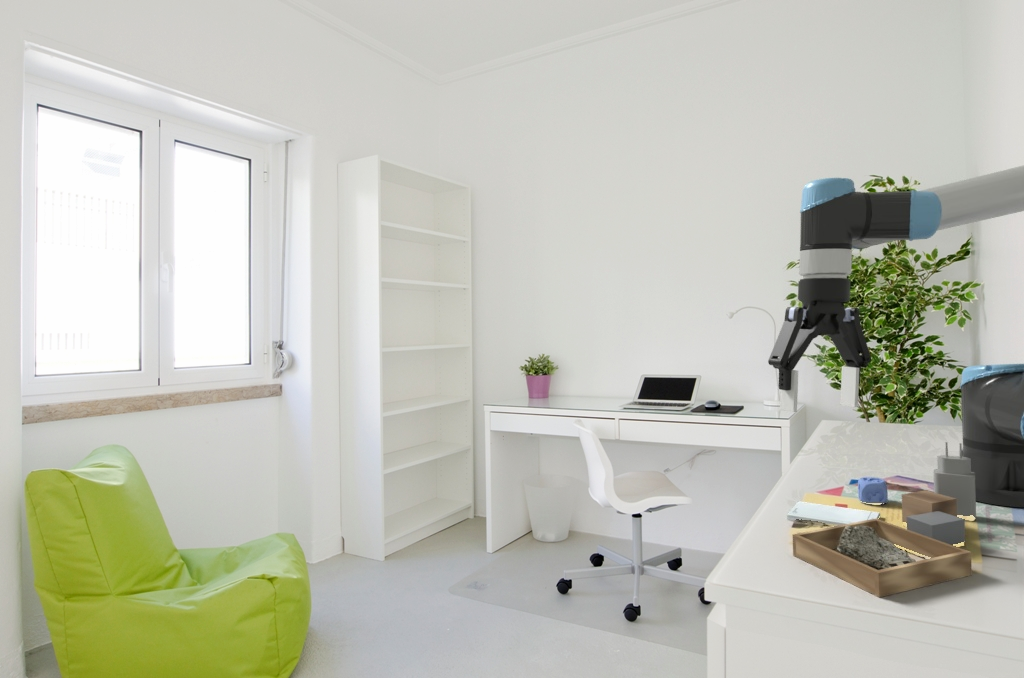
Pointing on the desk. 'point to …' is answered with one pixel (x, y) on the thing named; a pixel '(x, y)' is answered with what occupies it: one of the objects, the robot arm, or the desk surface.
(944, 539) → the charcoal block
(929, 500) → the walnut block
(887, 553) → the rock sample
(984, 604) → the desk surface
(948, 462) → the power adapter
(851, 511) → the hard drive
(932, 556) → the oak frame
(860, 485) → the decorative dice
